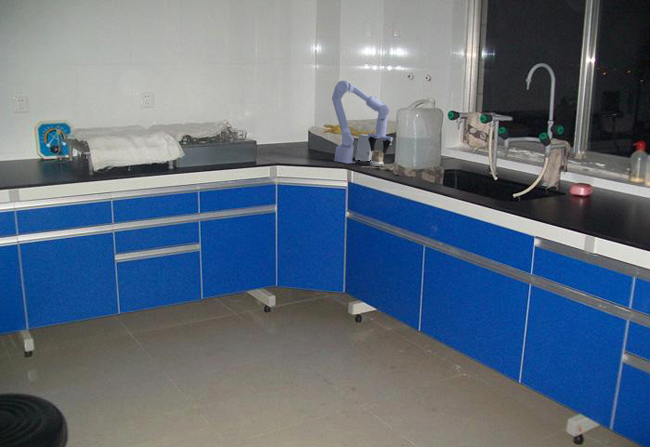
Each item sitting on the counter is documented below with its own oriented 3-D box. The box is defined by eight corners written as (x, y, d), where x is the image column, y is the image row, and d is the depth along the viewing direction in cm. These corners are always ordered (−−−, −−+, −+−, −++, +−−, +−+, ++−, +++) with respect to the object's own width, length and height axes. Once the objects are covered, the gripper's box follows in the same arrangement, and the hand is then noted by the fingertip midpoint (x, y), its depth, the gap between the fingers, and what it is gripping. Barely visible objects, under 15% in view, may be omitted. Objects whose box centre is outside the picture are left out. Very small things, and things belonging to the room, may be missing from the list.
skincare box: (354, 160, 388) (357, 134, 384) (358, 159, 393) (361, 133, 390) (369, 162, 385) (372, 135, 382) (372, 161, 391) (375, 135, 387)
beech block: (371, 160, 371) (372, 150, 370) (375, 160, 375) (376, 150, 374) (378, 162, 369) (379, 152, 367) (382, 161, 372) (383, 151, 371)
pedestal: (367, 165, 372) (368, 160, 371) (375, 164, 377) (375, 160, 377) (378, 167, 368) (378, 162, 367) (385, 166, 373) (386, 162, 372)
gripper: (366, 125, 369) (363, 150, 371) (389, 129, 361) (386, 154, 364) (372, 125, 374) (369, 150, 377) (395, 129, 366) (392, 154, 369)
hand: (378, 152), depth 371 cm, fingers open, 7 cm apart
